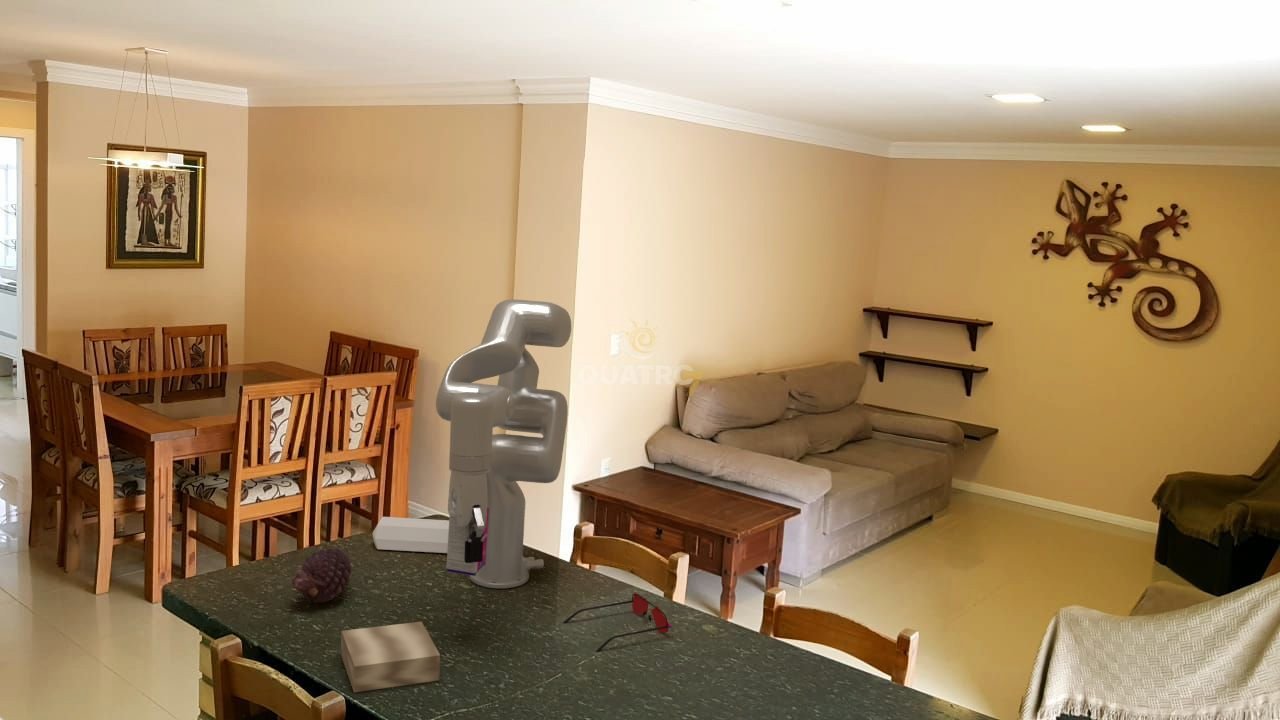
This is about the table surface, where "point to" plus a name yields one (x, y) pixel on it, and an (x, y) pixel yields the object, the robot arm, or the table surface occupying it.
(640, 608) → the glasses
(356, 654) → the birch plinth
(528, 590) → the table surface
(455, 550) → the supplement box
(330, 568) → the purple hedgehog toy
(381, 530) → the white chamfered bar
